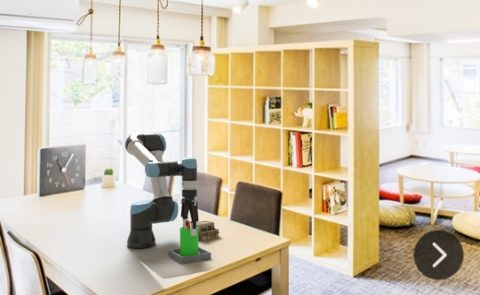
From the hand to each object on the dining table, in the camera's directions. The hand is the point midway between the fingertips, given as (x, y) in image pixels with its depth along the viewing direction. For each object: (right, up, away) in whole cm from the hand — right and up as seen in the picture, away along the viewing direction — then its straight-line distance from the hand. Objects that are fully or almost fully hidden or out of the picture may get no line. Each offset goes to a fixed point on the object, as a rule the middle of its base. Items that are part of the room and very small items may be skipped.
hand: (189, 233), depth 207 cm
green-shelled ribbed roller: (0, -11, -1) cm, 11 cm away
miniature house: (+5, -12, +29) cm, 32 cm away
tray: (0, -12, 0) cm, 12 cm away
